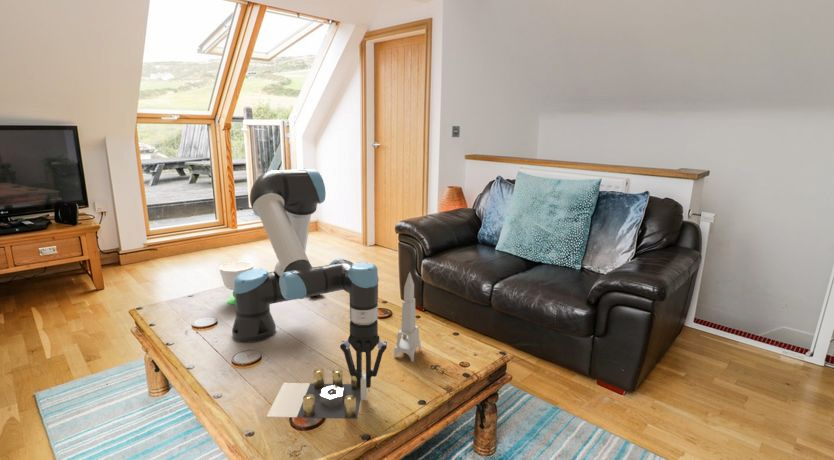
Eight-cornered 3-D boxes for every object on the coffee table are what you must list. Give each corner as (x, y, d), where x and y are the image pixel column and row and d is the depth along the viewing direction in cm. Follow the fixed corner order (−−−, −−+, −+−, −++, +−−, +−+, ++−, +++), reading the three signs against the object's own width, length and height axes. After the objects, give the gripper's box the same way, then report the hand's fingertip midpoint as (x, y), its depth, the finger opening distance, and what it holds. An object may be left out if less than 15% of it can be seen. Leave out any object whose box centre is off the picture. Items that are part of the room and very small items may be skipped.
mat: (266, 418, 120) (266, 416, 120) (283, 384, 136) (283, 382, 136) (357, 420, 121) (357, 418, 121) (363, 386, 136) (363, 384, 136)
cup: (248, 307, 190) (246, 271, 186) (216, 306, 190) (213, 270, 186) (260, 295, 203) (258, 261, 200) (229, 294, 203) (227, 260, 200)
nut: (323, 409, 124) (323, 400, 123) (316, 397, 129) (316, 389, 128) (347, 402, 127) (347, 393, 127) (339, 391, 132) (339, 383, 132)
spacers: (302, 417, 120) (301, 400, 119) (315, 383, 136) (314, 368, 135) (355, 418, 121) (355, 401, 119) (361, 384, 136) (361, 369, 135)
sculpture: (420, 350, 159) (423, 268, 152) (413, 361, 151) (415, 276, 144) (402, 346, 161) (404, 266, 154) (394, 357, 153) (395, 273, 146)
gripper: (337, 325, 119) (338, 404, 124) (387, 326, 119) (386, 405, 124) (341, 313, 126) (342, 388, 132) (388, 314, 126) (387, 389, 132)
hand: (363, 396), depth 128 cm, fingers closed
